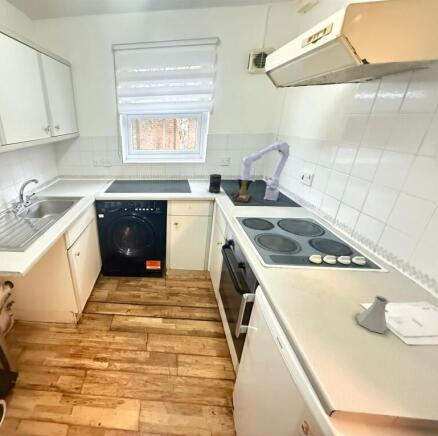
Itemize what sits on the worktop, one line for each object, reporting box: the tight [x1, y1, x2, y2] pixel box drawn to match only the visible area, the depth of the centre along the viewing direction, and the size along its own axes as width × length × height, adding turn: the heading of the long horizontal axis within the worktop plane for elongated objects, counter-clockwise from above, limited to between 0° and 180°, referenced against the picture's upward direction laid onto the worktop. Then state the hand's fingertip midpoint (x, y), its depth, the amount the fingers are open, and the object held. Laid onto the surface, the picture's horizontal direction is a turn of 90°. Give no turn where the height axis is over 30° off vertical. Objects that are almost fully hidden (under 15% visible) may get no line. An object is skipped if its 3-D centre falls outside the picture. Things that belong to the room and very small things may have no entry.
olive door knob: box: [239, 180, 248, 195], centre depth 190 cm, size 6×6×11 cm
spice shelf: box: [232, 190, 252, 204], centre depth 192 cm, size 10×18×4 cm, turn 148°
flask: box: [356, 295, 390, 334], centre depth 73 cm, size 7×7×10 cm
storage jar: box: [208, 173, 222, 194], centre depth 211 cm, size 10×10×15 cm
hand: (243, 189), depth 191 cm, fingers closed on olive door knob, 5 cm apart
